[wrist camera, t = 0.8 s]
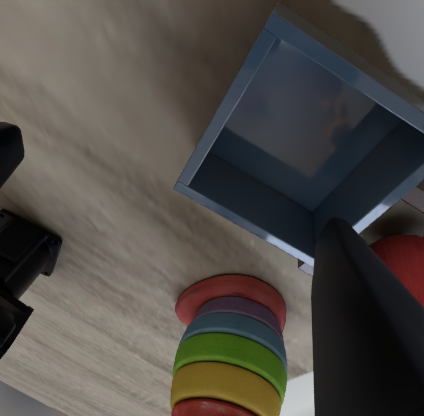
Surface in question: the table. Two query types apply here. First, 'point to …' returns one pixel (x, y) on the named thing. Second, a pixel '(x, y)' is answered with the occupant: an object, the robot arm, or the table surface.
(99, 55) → the table surface
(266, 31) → the blue open box
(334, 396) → the robot arm
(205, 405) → the stacking bear
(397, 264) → the red round fruit
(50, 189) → the table surface
